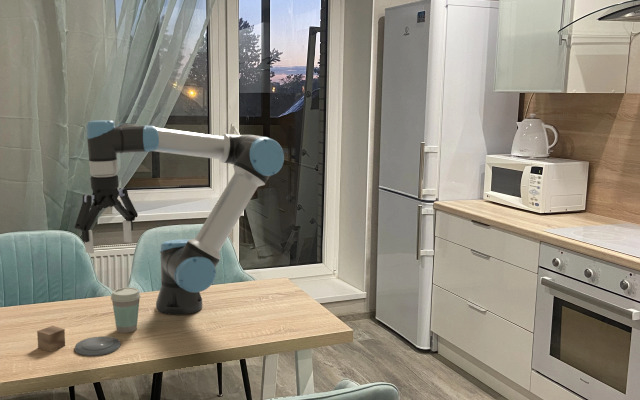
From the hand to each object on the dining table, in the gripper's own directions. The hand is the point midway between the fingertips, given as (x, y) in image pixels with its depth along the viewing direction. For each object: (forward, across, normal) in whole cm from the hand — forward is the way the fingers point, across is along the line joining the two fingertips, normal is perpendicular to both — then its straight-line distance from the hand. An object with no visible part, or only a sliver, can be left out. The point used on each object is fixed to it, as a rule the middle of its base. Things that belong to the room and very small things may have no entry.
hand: (109, 247), depth 185 cm
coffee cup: (+27, -4, +1) cm, 27 cm away
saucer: (+26, +10, +5) cm, 28 cm away
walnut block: (+26, +18, -6) cm, 32 cm away
